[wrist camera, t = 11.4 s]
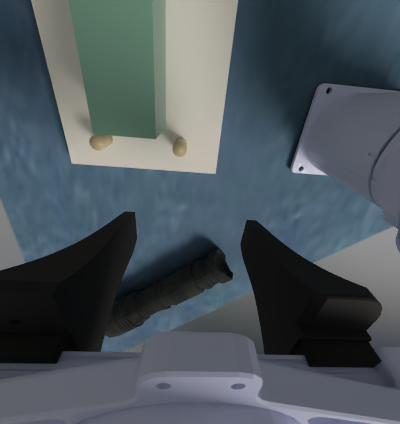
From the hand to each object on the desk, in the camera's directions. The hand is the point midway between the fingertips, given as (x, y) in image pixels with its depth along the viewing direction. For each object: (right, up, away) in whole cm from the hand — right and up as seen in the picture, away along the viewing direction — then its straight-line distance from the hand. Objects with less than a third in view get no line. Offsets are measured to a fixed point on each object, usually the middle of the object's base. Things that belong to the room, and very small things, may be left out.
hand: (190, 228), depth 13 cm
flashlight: (-5, -9, +18) cm, 20 cm away
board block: (-4, +13, +2) cm, 14 cm away
